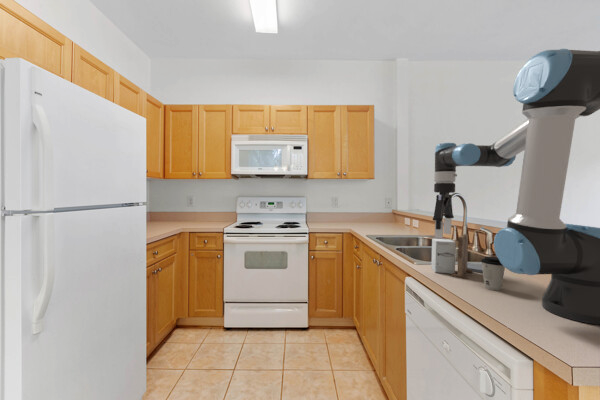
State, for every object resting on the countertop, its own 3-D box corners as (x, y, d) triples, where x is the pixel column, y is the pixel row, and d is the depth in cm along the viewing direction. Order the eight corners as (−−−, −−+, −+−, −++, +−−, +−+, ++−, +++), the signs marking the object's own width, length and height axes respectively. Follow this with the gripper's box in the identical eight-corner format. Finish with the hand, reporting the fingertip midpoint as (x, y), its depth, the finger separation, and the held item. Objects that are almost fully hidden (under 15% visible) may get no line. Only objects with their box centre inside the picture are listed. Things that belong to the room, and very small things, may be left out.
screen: (466, 279, 106) (467, 238, 105) (451, 276, 109) (452, 236, 109) (472, 272, 115) (473, 234, 115) (458, 270, 118) (459, 233, 118)
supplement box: (434, 272, 114) (435, 240, 113) (431, 268, 121) (431, 238, 121) (455, 274, 112) (456, 241, 112) (450, 269, 119) (451, 238, 119)
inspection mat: (492, 274, 112) (492, 271, 112) (463, 270, 118) (463, 267, 118) (495, 269, 119) (495, 266, 119) (467, 265, 126) (467, 262, 126)
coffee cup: (485, 290, 93) (485, 259, 93) (477, 284, 100) (477, 255, 100) (509, 292, 92) (510, 261, 91) (499, 285, 98) (500, 256, 98)
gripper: (447, 181, 104) (445, 240, 104) (461, 183, 123) (460, 233, 124) (425, 182, 108) (423, 238, 109) (442, 183, 128) (441, 231, 128)
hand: (443, 235), depth 116 cm, fingers open, 13 cm apart
